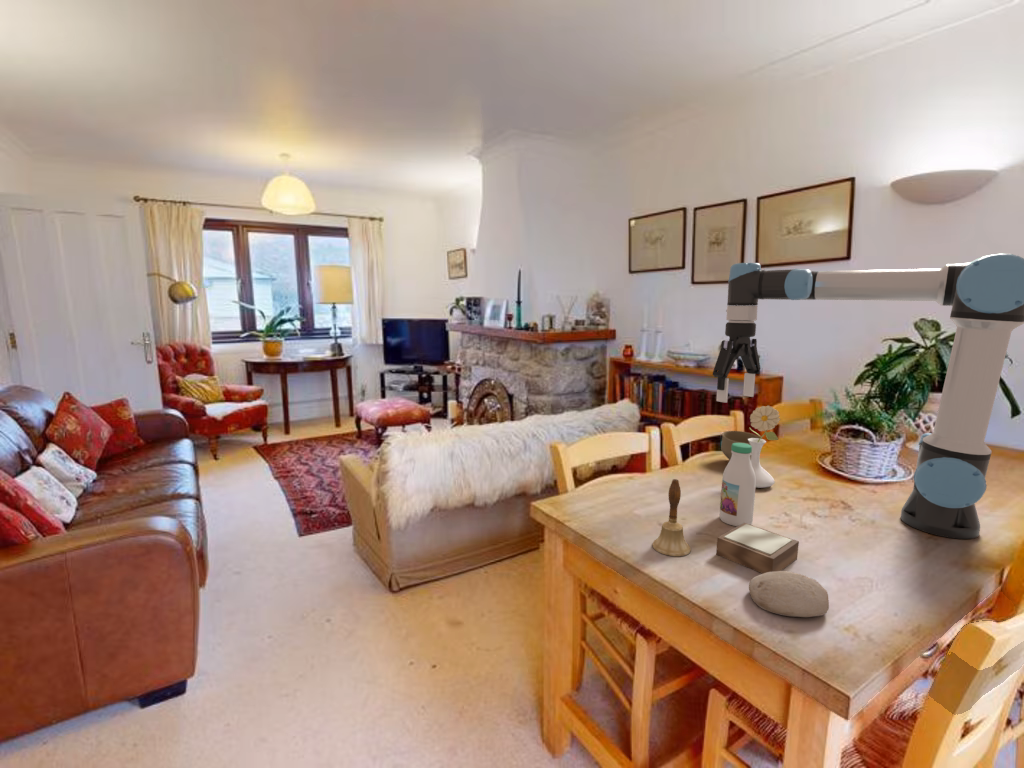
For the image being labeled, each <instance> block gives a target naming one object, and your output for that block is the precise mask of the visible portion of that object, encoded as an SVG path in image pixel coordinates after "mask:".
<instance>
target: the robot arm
mask: <svg viewBox="0 0 1024 768" xmlns="http://www.w3.org/2000/svg"><path fill="white" fill-rule="evenodd" d="M761 267H762V265H761V264H760V263H759V262H741V263H740V262H737V263H734V264H732V265H731V266H730V270H729V274H728V275H729V277H728V280H727V282H728V285H727V286H728V287H727V306H726V307H727V308H726V310H725V312H726V321H728V322H726V323H725V331H724V333H725V334H724V335H725V336H726V337H729V338H728V340H722V341H721V345H720V350H719V353H718V356H717V358H716V362H715V365H714V367H713V371H712V376H713V377H714V378H717V387H716V388H717V389H716V398H715V399H716V402H720V403H728V398H729V397H728V395H729V394H728V393H729V383H730V381H729V379H730V378H729V377H728V376H729V374H730V371H731V370H732V368H733V366H734V363H735V362H736V360H737V359H739V357H740V358H741V360H742V361H741V362H742V364H743V366H744V368H745V371H746V372H745V373H744V377H743V391H742V396H744V397H751V398H754V396H755V382H756V374H757V375H758V374H760V371H761V364H760V359H759V358H760V356H759V353H758V347H757V343H758V340H757V338H753V337H755V336H756V331H757V330H756V329H757V323H756V322H755V321H757V319H758V305H759V303H758V302H759V300H780V301H781V300H789V301H790V300H791V301H801V300H802V301H803V300H805V301H806V300H807V301H814V300H815V301H816V300H818V301H819V300H820V301H821V300H822V301H828V300H829V301H887V302H888V301H891V302H892V301H894V302H895V301H899V302H900V301H902V302H905V301H906V302H907V301H908V302H936V303H938V304H939V305H940V306H947V307H948V306H949V307H950V306H951V310H950V311H951V312H950V316H949V319H950V321H952V323H954V325H956V330H955V334H954V338H953V339H954V340H953V343H952V346H951V353H950V356H949V361H948V364H947V365H948V366H947V369H946V373H945V374H946V375H945V379H944V383H943V387H942V393H941V397H940V401H939V405H938V411H937V415H936V419H935V422H934V423H935V424H934V426H933V431H932V433H931V432H926V433H923V434H922V435H921V436H920V440H919V441H918V445H919V446H918V452H917V453H918V455H917V458H916V459H917V461H916V467H915V471H914V474H913V481H914V482H913V487H912V491H911V493H910V495H909V496H908V498H907V500H906V501H905V503H904V504H903V506H902V507H901V511H900V519H901V521H902V522H903V523H905V524H906V525H908V526H910V527H912V528H914V529H916V530H919V531H921V532H925V533H928V534H930V535H935V536H939V537H945V538H949V539H950V538H951V539H959V540H969V539H970V540H972V539H975V538H978V537H979V536H980V531H981V524H980V523H981V522H980V520H979V515H978V512H977V507H976V503H977V502H979V501H980V500H981V498H983V497H984V494H985V492H986V491H987V487H988V485H987V481H986V477H987V476H986V475H987V472H988V468H989V464H990V461H991V460H990V459H991V455H992V452H993V451H992V450H991V448H990V447H989V446H988V445H987V444H986V442H985V439H986V436H987V431H988V427H989V424H990V419H991V415H992V412H993V407H994V404H995V399H996V395H997V392H998V389H999V387H998V386H999V383H1000V380H1001V374H1002V371H1003V367H1004V364H1005V359H1006V356H1007V355H1006V354H1007V350H1008V347H1009V343H1010V338H1011V334H1012V331H1014V330H1015V329H1017V328H1019V327H1020V326H1022V325H1023V324H1024V258H1023V257H1021V256H1019V255H1016V254H1012V253H991V254H986V255H984V256H981V257H977V258H976V259H974V260H973V261H970V262H964V263H947V264H945V265H943V266H942V267H941V268H917V269H916V268H914V269H913V268H912V269H911V268H908V269H902V268H901V269H868V270H865V269H864V270H863V269H862V270H858V269H857V270H826V271H825V270H824V271H823V270H820V271H812V270H810V269H805V268H804V269H801V268H791V269H775V270H772V269H771V270H764V269H762V268H761Z"/></svg>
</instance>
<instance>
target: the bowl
mask: <svg viewBox="0 0 1024 768" xmlns="http://www.w3.org/2000/svg"><path fill="white" fill-rule="evenodd" d="M721 433H722V434H721V436H722V437H721V440H722V441H721V444H720V445H721V446H720V449H721V452H722V454H723V455H724V456H725V457H726V458H727V459H728V460H729V461H730V459H731V457H732V453H731V451H732V450H731V447H732V444H733V443H746V444H749V445H750V443H749V441H748V439H749V438H758V439H760V436H759V435H757V434H755V433H752V432H751V433H750V432H747V431H742V430H741V431H739V430H727V431H723V432H721ZM761 439H763V437H762V438H761ZM751 456H752V452H751V455H750V460H751Z"/></svg>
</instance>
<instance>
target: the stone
mask: <svg viewBox="0 0 1024 768" xmlns="http://www.w3.org/2000/svg"><path fill="white" fill-rule="evenodd" d="M748 590H749V595H750V597H751V600H752V601H753V602H754V604H756V605H757V606H758V607H759V608H761V609H762V610H764V611H767V612H770V613H773V614H777V615H781V616H784V617H785V616H787V617H796V618H797V617H798V618H800V617H801V618H812V617H820V616H823V615H825V614H827V613H828V611H829V608H830V600H829V594H828V591H827V590H826V589H825V587H824V586H823V585H822V584H821V583H819V581H817V580H816V579H815V578H814V579H813V578H812V577H808V576H807V575H804V574H801V573H797V572H792V571H786V570H781V571H774V572H767V573H764V574H762V573H760V574H758V575H756V576H753V578H751V579H750V581H749V584H748Z"/></svg>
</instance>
